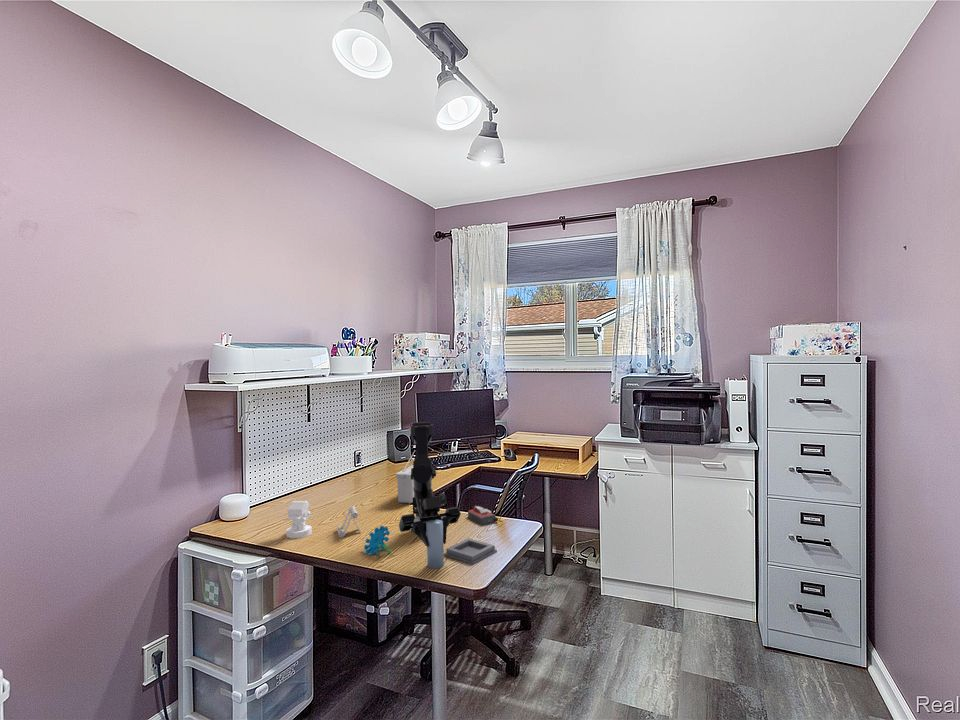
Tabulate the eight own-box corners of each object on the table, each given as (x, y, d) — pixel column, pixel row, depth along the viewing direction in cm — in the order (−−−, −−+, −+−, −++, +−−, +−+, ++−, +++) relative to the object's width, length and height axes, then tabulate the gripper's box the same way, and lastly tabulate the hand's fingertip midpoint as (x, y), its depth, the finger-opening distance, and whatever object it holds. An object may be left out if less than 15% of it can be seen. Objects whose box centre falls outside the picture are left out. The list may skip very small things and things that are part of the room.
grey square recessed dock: (444, 555, 156) (444, 548, 156) (468, 543, 165) (468, 537, 165) (473, 564, 148) (473, 557, 148) (497, 551, 158) (496, 545, 158)
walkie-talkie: (503, 522, 186) (476, 509, 204) (502, 510, 186) (476, 498, 204) (483, 527, 182) (458, 513, 199) (483, 515, 182) (457, 502, 199)
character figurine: (315, 530, 183) (314, 498, 183) (303, 539, 173) (302, 505, 173) (293, 529, 184) (292, 498, 184) (280, 539, 174) (279, 505, 174)
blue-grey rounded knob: (424, 565, 148) (422, 523, 148) (435, 560, 152) (434, 518, 152) (435, 570, 145) (434, 526, 145) (447, 564, 149) (446, 521, 149)
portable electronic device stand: (337, 530, 182) (336, 508, 182) (358, 527, 184) (358, 505, 184) (339, 538, 174) (338, 514, 174) (361, 535, 176) (361, 511, 176)
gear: (358, 544, 162) (379, 519, 166) (370, 553, 165) (390, 528, 169) (371, 559, 153) (393, 533, 157) (383, 568, 156) (404, 542, 160)
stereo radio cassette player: (412, 504, 211) (411, 458, 211) (395, 503, 214) (393, 458, 214) (430, 491, 232) (429, 449, 231) (414, 491, 234) (413, 449, 234)
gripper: (400, 489, 148) (410, 537, 138) (457, 481, 156) (471, 526, 146) (395, 508, 156) (404, 555, 145) (450, 500, 163) (463, 544, 153)
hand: (436, 544), depth 147 cm, fingers closed on blue-grey rounded knob, 5 cm apart
